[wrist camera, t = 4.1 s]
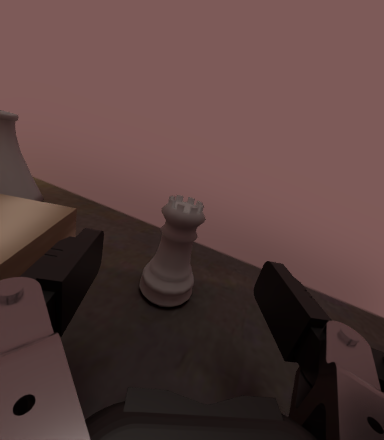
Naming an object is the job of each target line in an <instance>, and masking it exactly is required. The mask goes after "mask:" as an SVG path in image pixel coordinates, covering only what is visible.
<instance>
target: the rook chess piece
mask: <svg viewBox="0 0 384 440" xmlns="http://www.w3.org/2000/svg"><path fill="white" fill-rule="evenodd" d="M194 200H195V199H193V198H190V197H189V198H188V202H182V201H183V196H179V195H177V197H176V201H175V197H174V196H171V197H170V198H169V202H168V204H166V205H165V206H164V207H163V208H162V213H163V215H164V217H165V219H166V222H165V225H164V226H162V227H161V232H162V239H161V242H160V245H159V247H158V250H157V253H156V255H155V256H154V257H153V258H152V259H151V260H150V262H149V263H148V264H147V265H146V266H145V268H144V269H143V273H142V278H141V279H140V284H139V286H140V289H141V292H142V294H143V295H144V296H145V297H146V298H147V299H148V300H149V301H150V302H151V303H153V304H156V305H158V306H161V307H174V306H178V305H181V304H182V303H184V302H185V301H187V300H188V299H189V298H190V296H191V294H192V287H193V285H194V278H193V273H192V268H191V265H190V258H191V250H192V245H193V242H194V241H195V240H196V238H197V234H196V229H197V227H198V226H199V225H201V224H202V223H203V222H204V221H205V220H206V219H205V217H204V214H203V212H202V211H203V208H204V206H203V204H202V203H201V202H200V201H197V203H196V206H195V205H193V204H194Z"/></svg>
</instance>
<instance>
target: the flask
mask: <svg viewBox="0 0 384 440" xmlns="http://www.w3.org/2000/svg"><path fill="white" fill-rule="evenodd" d="M17 120H18V115H16V114H13V113H9V112H5V111H1V110H0V194H4V195H9V196H14V197H20V198H25V199H30V200H35V201H40V202H42V201H43V200H44V199H43V197H42V195H41V193H40V191H39V189H38V187H37V185H36V183H35V181H34V179H33V177H32V175H31V173H30V171H29V169H28V167H27V164H26V163H25V160H24V158H23V156H22V154H21V151H20V148H19V145H18V141H17V137H16V132H15V121H17Z"/></svg>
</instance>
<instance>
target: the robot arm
mask: <svg viewBox="0 0 384 440" xmlns="http://www.w3.org/2000/svg"><path fill="white" fill-rule="evenodd" d="M103 239H104V232H103V231H101V230H95V229H89V228H85V229H83V230H82V232H81V233H80V234H79V235H78V236H77V237H71V236H69V237H67V238H65V239H62V240H60V241H58V242H57V243H56V244H55V245H54V246H53V247H51V249H49V250H48V251H47V252H46V253H45V254H44V256H42V257H40V258H39V259H38V260H37V261H36V262H35V263H34V264H33V265H32V266H30V267H29V268H28V269H27V270H26V271H25V272H24V273H23V274H22V275H21V276H19V277H13V278H7V279H3V280H0V440H384V353H383V352H381V351H378V350H376V349H373V348H370V346H369V344H368V343H367V341H366V340H365V339H364V338H363V337H362V336H361V335H360V334H359V333H357V332H356V331H355V330H353V329H352V328H350V327H349V326H347V325H345V324H343V323H340V322H337V321H332V320H331V319H330V318H329V316H328V315H327V314H326V313H325V312H324V310H323V309H322V308H321V307H320V306H319V304H318V303H317V302H316V301H315V299H313V298H312V296H311V295H310V293H309V292H307V290H306V289H305V287H304V286H303V285H302V284H301V282H299V281H298V280H297V279H296V278H294V277H293V276H292V275H291V273H290V272H289V271H288V270H287V268H286V267H285V266H284V265H283V264H281V263H276V262H270V261H267V262H266V263H265V264H264V265H263V268H262V270H261V272H260V275H259V277H258V279H257V282H256V284H255V287H254V296H255V299H256V301H257V303H258V305H259V308H260V310H261V312H262V314H263V316H264V318H265V320H266V322H267V324H268V327H269V329H270V331H271V333H272V335H273V337H274V339H275V341H276V344H277V346H278V348H279V350H280V352H281V354H282V356H283V358H284V361H288V362H297V363H298V364H299V368H298V369H297V371H296V375H295V381H294V387H293V393H292V399H291V406H290V412H289V416H288V417H287V416H285V415H283V414H281V412H280V410H279V407H278V404H277V401H276V399H275V398H267V397H254V396H239V397H235V398H232V399H228V400H225V401H221V402H217V403H214V404H210V405H205V404H202V403H199V402H197V401H194V400H192V399H189V398H187V397H184V396H181V395H179V394H176V393H174V392H171V391H168V390H160V389H146V388H133V387H128V390H127V395H126V400H125V401H124V402H120V403H116V404H113V405H111V406H108V407H106V408H104V409H102V410H100V411H98V412H96V413H95V414H93V415H92V416H90V417H89V418H87V419H86V420H84V416H83V413H82V410H81V406H80V403H79V399H78V396H77V393H76V389H75V386H74V383H73V379H72V376H71V372H70V369H69V366H68V362H67V359H66V355H65V352H64V349H63V345H62V342H61V339H60V337H62V335H63V333H64V331H65V330H66V328H67V326H68V324H69V323H70V321H71V319H72V317H73V316H74V314H75V312H76V310H77V309H78V307H79V305H80V303H81V302H82V300H83V298H84V296H85V294H86V293H87V291H88V289H89V287H90V286H91V284H92V282H93V280H94V279H95V277H96V275H97V273H98V271H99V268H100V265H101V259H102V249H103Z"/></svg>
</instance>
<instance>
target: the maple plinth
mask: <svg viewBox="0 0 384 440" xmlns="http://www.w3.org/2000/svg"><path fill="white" fill-rule="evenodd" d="M76 210H77V209H76V208H71V207H66V206H61V205H56V204H50V203H45V202H40V201H35V200H30V199H25V198H20V197H14V196H9V195H4V194H0V280H3V279H7V278H13V277H19V276H21V275H22V274H23V273H24V272H25V271H26V270H27V269H28V268H29V267H30V266H32V265H33V264H34V263H35V262H36V261H37V260H38V259H39V258H40V257H42V256H44V254H45V253H46V252H47V251H48V250H49V249H51V247H53V246H54V245H55V244H56V243H57V242H58V241H60V240H62V239H65V238H67V237H69V236H71V237H75V234H76Z"/></svg>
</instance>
